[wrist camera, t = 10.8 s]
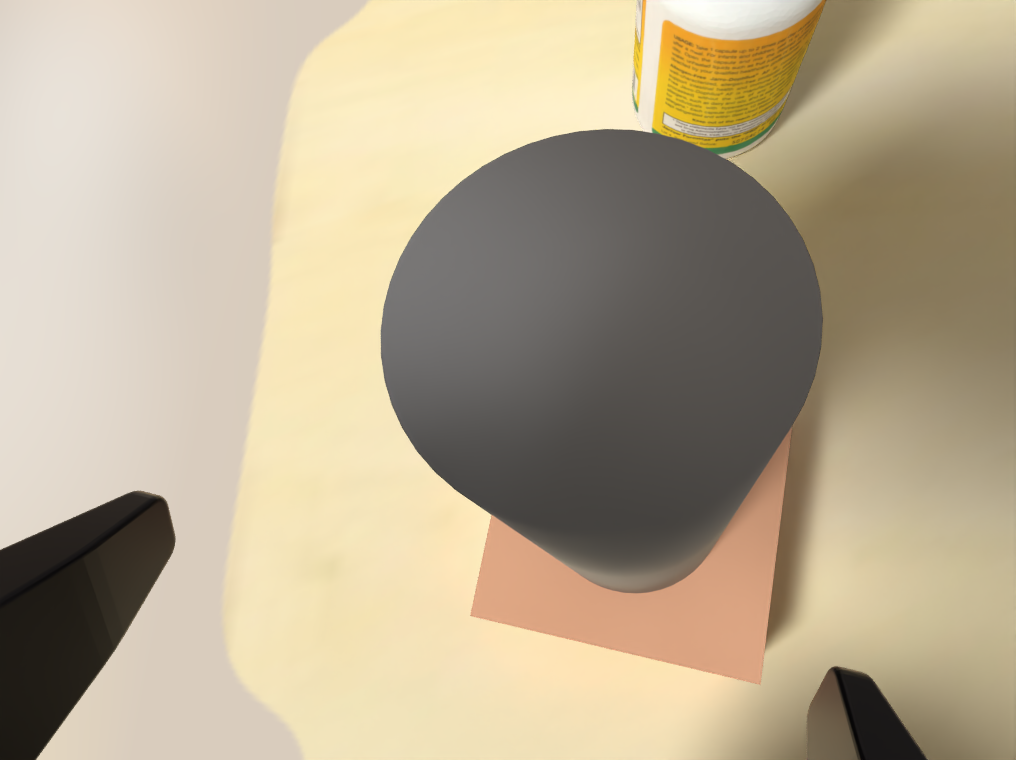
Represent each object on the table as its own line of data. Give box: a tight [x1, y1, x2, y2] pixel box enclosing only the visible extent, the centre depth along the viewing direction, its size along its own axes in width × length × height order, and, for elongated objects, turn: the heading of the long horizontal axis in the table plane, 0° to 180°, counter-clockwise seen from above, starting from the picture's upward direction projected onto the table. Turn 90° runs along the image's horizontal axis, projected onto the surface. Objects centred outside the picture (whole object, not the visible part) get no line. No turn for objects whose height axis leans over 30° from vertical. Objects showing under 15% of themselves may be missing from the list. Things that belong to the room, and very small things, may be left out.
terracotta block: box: [470, 427, 792, 684], centre depth 22 cm, size 8×8×3 cm
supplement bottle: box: [632, 0, 826, 159], centre depth 21 cm, size 5×5×10 cm
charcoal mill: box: [381, 129, 823, 593], centre depth 14 cm, size 5×5×13 cm
